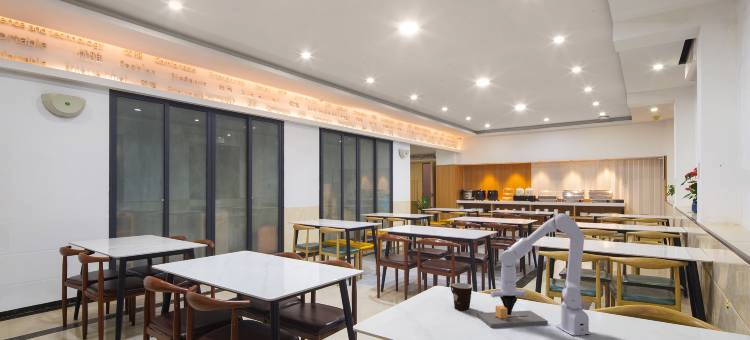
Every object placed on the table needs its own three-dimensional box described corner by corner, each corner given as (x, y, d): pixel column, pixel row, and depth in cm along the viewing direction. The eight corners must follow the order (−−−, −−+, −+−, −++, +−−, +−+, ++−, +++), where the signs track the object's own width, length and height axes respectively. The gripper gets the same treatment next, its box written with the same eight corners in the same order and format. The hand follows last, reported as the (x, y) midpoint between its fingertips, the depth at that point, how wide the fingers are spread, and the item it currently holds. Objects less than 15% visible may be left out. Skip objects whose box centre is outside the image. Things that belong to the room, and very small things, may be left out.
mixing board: (547, 324, 153) (547, 320, 153) (491, 327, 148) (491, 323, 149) (530, 314, 165) (530, 310, 165) (477, 316, 160) (477, 312, 160)
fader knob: (507, 318, 154) (507, 308, 154) (500, 318, 154) (500, 308, 154) (502, 314, 158) (502, 305, 158) (495, 315, 157) (495, 305, 158)
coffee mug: (474, 312, 166) (474, 288, 166) (453, 311, 166) (454, 288, 166) (468, 303, 177) (468, 281, 178) (449, 303, 178) (449, 281, 178)
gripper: (519, 277, 162) (519, 310, 162) (487, 278, 159) (486, 311, 159) (529, 281, 155) (528, 316, 155) (495, 283, 152) (495, 317, 152)
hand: (508, 314), depth 156 cm, fingers closed
